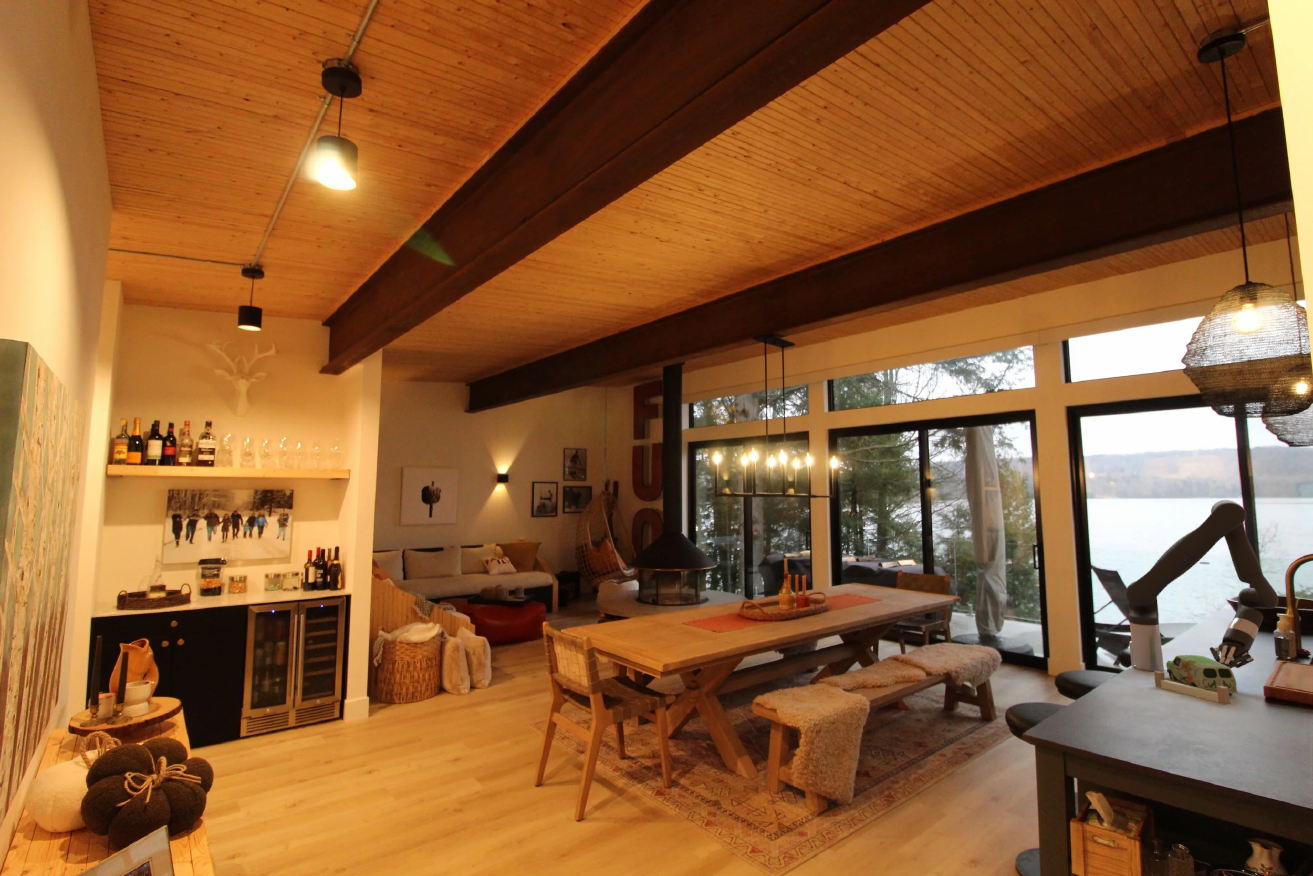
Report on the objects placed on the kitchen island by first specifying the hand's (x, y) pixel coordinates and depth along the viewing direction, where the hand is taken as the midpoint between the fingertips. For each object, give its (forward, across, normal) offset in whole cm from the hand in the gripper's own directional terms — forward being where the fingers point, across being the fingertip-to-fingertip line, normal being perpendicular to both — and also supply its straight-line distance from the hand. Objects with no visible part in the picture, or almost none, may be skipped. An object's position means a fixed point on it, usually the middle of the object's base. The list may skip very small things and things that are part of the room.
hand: (1221, 674), depth 223 cm
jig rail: (+15, +1, -9) cm, 17 cm away
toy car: (+7, -4, 0) cm, 8 cm away
